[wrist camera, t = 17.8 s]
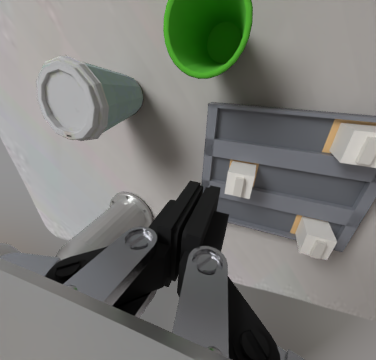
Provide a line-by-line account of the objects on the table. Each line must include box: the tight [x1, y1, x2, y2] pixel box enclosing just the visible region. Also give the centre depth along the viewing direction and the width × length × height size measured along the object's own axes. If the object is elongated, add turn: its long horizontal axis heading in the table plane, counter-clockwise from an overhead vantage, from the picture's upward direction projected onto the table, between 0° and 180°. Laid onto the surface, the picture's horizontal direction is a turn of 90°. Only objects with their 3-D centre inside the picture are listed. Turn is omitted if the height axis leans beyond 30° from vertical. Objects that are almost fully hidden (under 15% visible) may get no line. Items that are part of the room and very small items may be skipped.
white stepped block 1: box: [224, 161, 256, 199], centre depth 31 cm, size 4×4×6 cm
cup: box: [164, 0, 253, 79], centre depth 23 cm, size 9×9×11 cm
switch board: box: [201, 102, 376, 252], centre depth 32 cm, size 22×26×2 cm
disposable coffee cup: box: [36, 55, 143, 141], centre depth 30 cm, size 11×11×15 cm
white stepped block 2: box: [295, 216, 337, 260], centre depth 31 cm, size 4×4×6 cm
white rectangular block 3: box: [329, 123, 376, 168], centre depth 24 cm, size 4×4×6 cm
